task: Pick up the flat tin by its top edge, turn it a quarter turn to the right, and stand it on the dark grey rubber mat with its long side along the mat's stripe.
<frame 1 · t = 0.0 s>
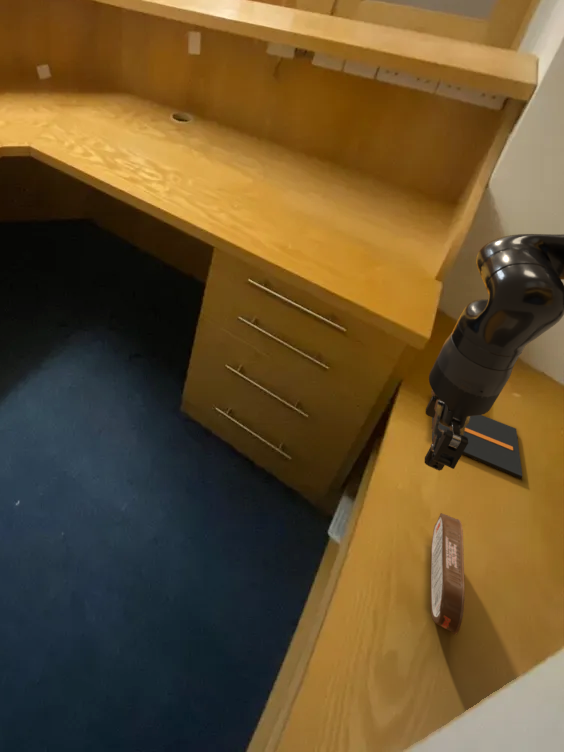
hand: (432, 439, 76), 21 cm above the table, tool pointing down, fingers open, 8 cm apart
tin: (437, 581, 78), on the table
mat: (473, 436, 97), on the table
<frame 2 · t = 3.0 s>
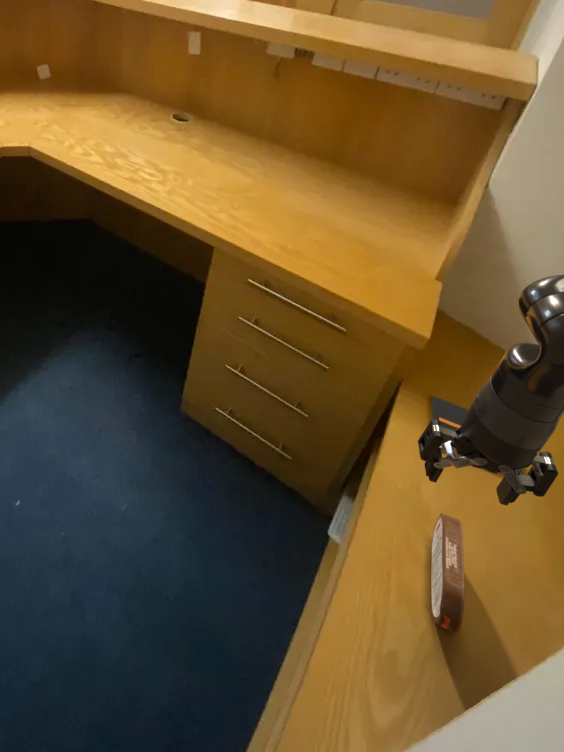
hand: (465, 486, 71), 20 cm above the table, tool pointing down, fingers open, 8 cm apart
nothing on the table moved.
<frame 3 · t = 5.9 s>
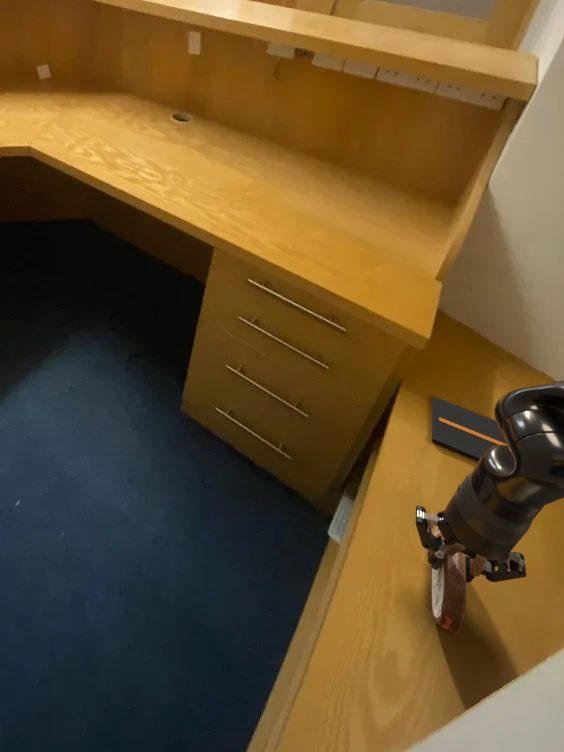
hand: (446, 569, 76), 4 cm above the table, tool pointing down, fingers closed on tin, 3 cm apart
tin: (437, 581, 78), on the table, touching gripper
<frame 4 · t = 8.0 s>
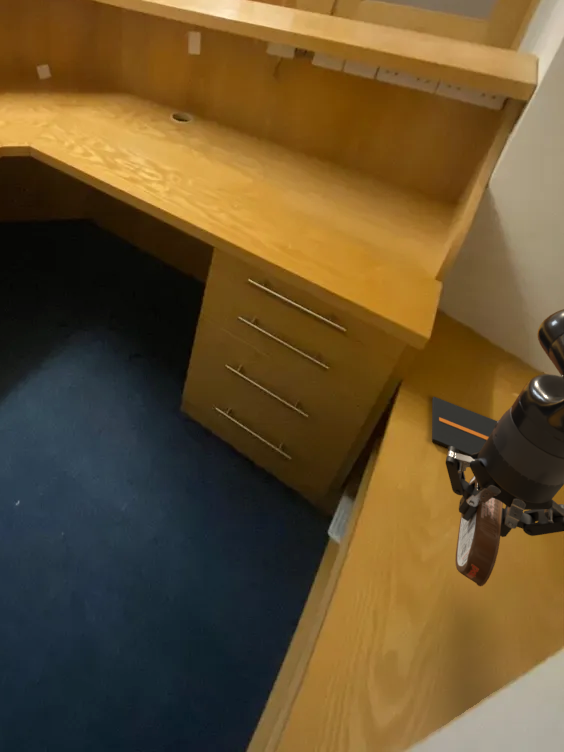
hand: (479, 521, 69), 18 cm above the table, tool pointing down, fingers closed on tin, 2 cm apart
tin: (465, 535, 71), point 14 cm above the table, touching gripper
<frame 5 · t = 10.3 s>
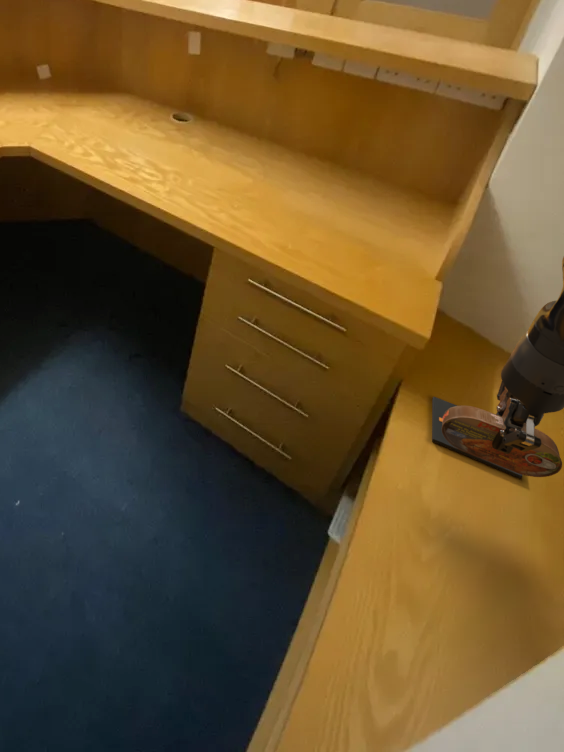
hand: (498, 439, 79), 18 cm above the table, tool pointing down, fingers closed on tin, 2 cm apart
tin: (488, 453, 81), point 14 cm above the table, touching gripper
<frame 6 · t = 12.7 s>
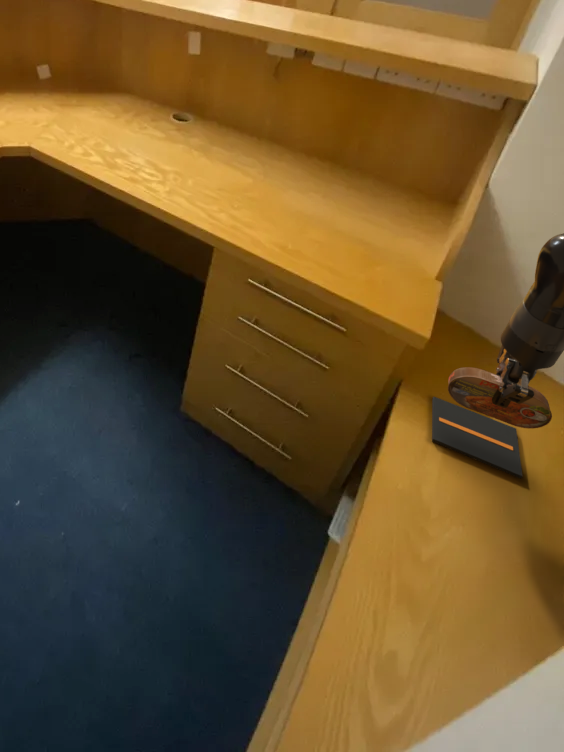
hand: (497, 396, 91), 12 cm above the table, tool pointing down, fingers closed on tin, 2 cm apart
tin: (488, 409, 93), point 8 cm above the table, touching gripper
when the fingers open (5 cm above the table, at t = 14.6 s): tin stays where it is, resting on mat.
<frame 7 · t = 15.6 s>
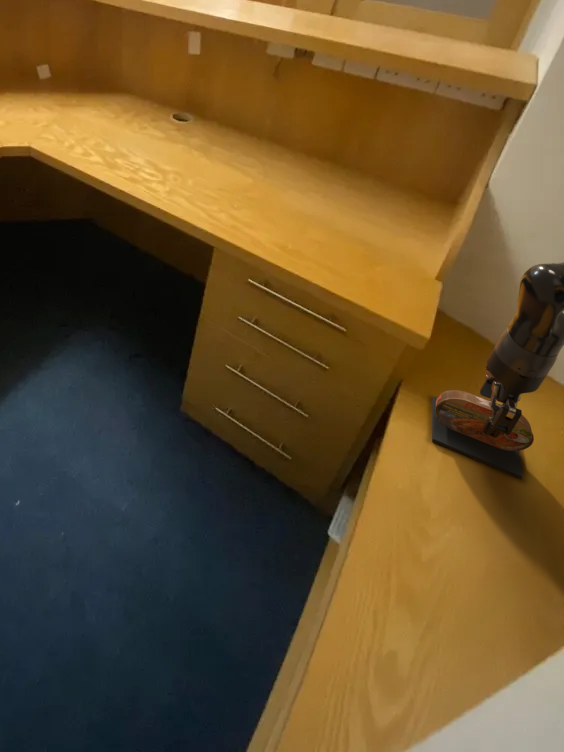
hand: (487, 414, 94), 7 cm above the table, tool pointing down, fingers open, 8 cm apart
tin: (473, 432, 97), point 1 cm above the table, touching mat
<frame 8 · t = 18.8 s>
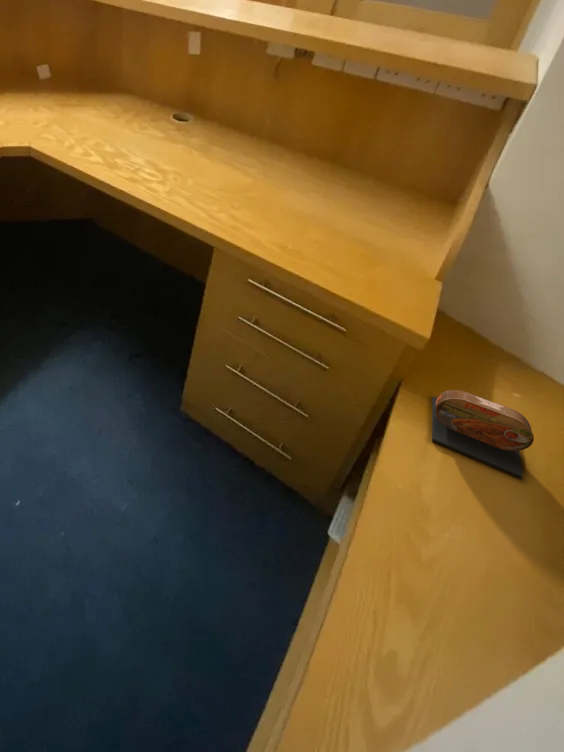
nothing on the table moved.
at the end: tin inside the target area on the mat (0.3 cm from its centre), point 0.7 cm above the mat's base; tin tilted 0°; the gripper is holding nothing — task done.
